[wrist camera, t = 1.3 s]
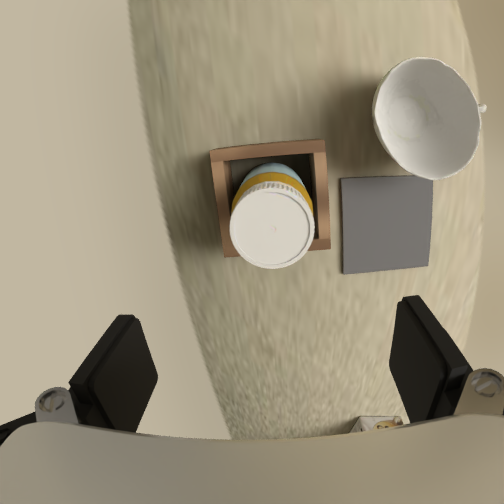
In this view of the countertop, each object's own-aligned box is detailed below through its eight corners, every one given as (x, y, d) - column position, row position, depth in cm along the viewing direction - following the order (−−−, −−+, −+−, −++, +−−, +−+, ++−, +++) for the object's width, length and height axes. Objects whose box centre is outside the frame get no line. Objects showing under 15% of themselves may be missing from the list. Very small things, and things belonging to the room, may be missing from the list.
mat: (340, 178, 36) (341, 178, 35) (431, 175, 35) (432, 175, 34) (342, 272, 40) (343, 274, 40) (426, 264, 39) (428, 266, 38)
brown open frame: (217, 148, 36) (209, 150, 31) (317, 139, 34) (324, 140, 30) (230, 242, 40) (224, 257, 35) (324, 234, 38) (330, 249, 34)
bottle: (312, 204, 37) (335, 250, 23) (259, 230, 39) (251, 288, 25) (286, 151, 35) (294, 164, 21) (231, 178, 37) (205, 209, 23)
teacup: (370, 180, 36) (393, 193, 28) (341, 77, 32) (359, 64, 24) (470, 155, 33) (506, 164, 26) (447, 62, 29) (481, 52, 22)
